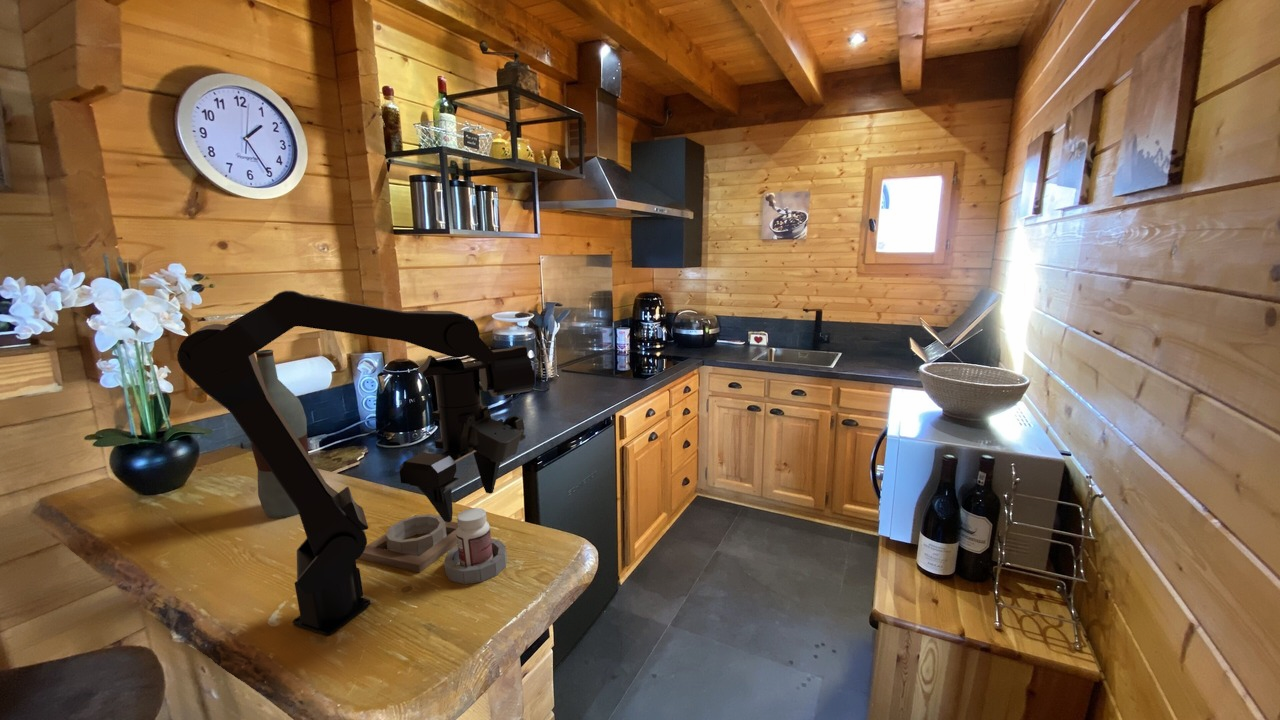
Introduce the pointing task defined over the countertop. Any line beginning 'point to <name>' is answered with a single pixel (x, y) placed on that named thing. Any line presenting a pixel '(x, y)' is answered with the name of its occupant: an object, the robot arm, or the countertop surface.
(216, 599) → the countertop surface
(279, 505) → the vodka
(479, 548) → the pill bottle
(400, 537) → the socket board
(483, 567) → the holder
